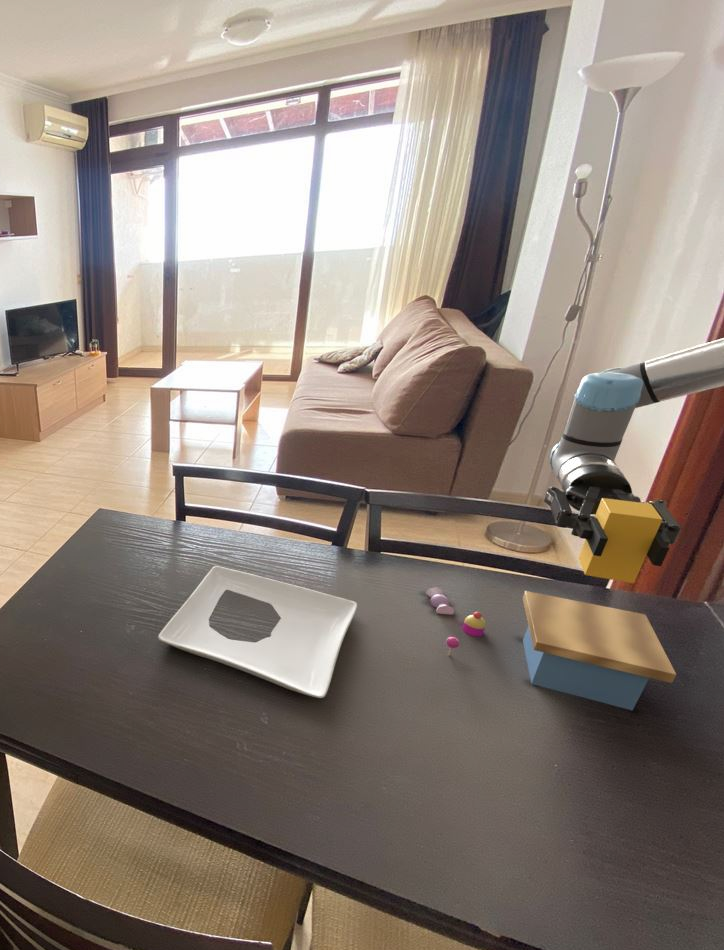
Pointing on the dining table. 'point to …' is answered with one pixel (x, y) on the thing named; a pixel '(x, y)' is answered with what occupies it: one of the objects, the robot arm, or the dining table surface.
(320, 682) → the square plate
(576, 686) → the blue box
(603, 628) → the birch board
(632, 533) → the yellow block
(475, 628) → the candy
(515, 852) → the dining table surface
